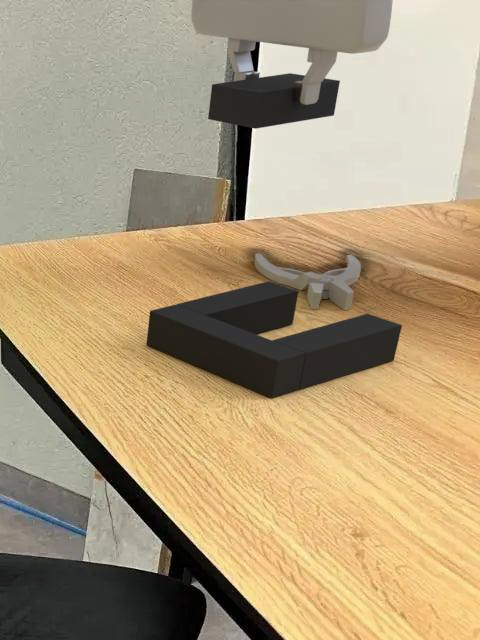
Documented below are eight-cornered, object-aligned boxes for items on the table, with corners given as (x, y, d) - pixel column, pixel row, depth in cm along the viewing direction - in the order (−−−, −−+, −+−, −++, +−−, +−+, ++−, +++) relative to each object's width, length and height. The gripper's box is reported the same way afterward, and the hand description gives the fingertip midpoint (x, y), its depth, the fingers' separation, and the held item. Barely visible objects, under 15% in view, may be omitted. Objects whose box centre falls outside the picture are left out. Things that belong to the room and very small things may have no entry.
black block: (284, 106, 110) (290, 73, 109) (334, 115, 106) (340, 80, 104) (207, 119, 106) (211, 84, 105) (255, 128, 102) (260, 92, 100)
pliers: (356, 246, 114) (391, 293, 102) (352, 262, 115) (388, 310, 103) (254, 244, 115) (277, 291, 103) (252, 260, 116) (274, 308, 104)
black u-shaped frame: (263, 313, 103) (269, 280, 101) (394, 360, 93) (402, 324, 91) (145, 344, 97) (149, 310, 95) (271, 398, 87) (277, 360, 85)
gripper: (427, -76, 91) (390, 109, 99) (239, -81, 106) (220, 81, 114) (372, -73, 89) (339, 117, 96) (188, -77, 104) (172, 87, 111)
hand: (273, 97), depth 105 cm, fingers closed on black block, 6 cm apart
